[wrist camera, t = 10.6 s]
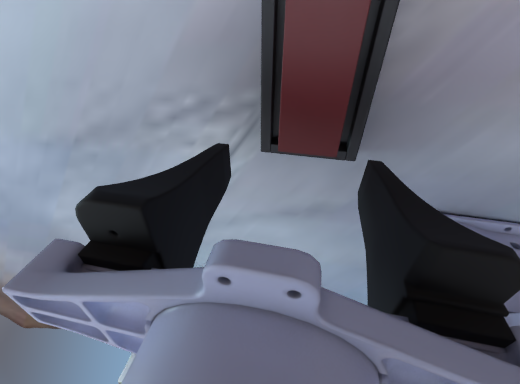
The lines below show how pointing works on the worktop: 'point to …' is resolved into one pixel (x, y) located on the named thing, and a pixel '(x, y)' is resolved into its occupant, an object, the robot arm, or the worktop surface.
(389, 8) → the cradle
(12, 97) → the worktop surface
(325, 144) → the dark red block
